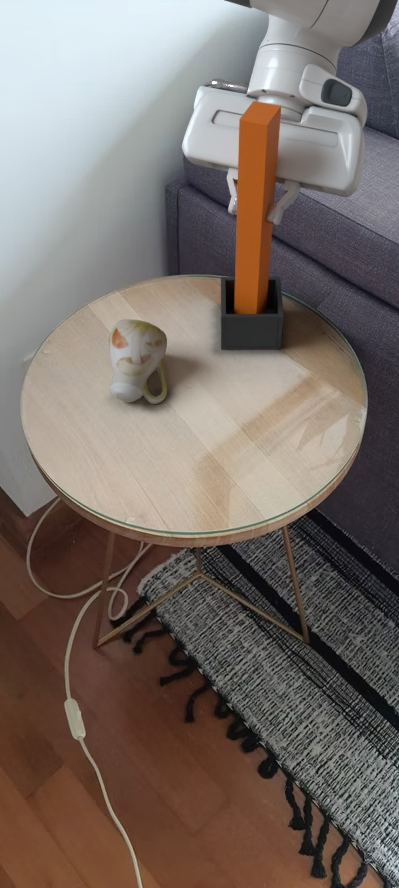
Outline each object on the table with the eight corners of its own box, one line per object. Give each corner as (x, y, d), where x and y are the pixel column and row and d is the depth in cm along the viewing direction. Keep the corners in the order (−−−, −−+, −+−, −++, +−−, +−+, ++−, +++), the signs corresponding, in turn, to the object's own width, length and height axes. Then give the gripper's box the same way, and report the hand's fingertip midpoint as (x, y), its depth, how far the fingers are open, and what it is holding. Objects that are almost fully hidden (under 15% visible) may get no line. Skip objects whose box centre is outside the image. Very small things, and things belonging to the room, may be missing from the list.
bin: (277, 309, 94) (280, 276, 89) (280, 349, 89) (283, 316, 85) (220, 309, 94) (220, 276, 90) (220, 349, 89) (221, 317, 85)
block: (265, 316, 91) (281, 105, 69) (255, 335, 89) (267, 124, 67) (244, 310, 92) (253, 100, 70) (233, 329, 90) (239, 119, 68)
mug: (97, 411, 84) (82, 331, 80) (132, 385, 92) (120, 311, 88) (153, 412, 81) (140, 329, 77) (183, 385, 89) (173, 309, 85)
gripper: (193, 63, 75) (160, 192, 77) (378, 96, 70) (337, 233, 72) (209, 87, 81) (178, 205, 83) (381, 118, 76) (343, 244, 78)
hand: (253, 219), depth 78 cm, fingers closed on block, 3 cm apart
